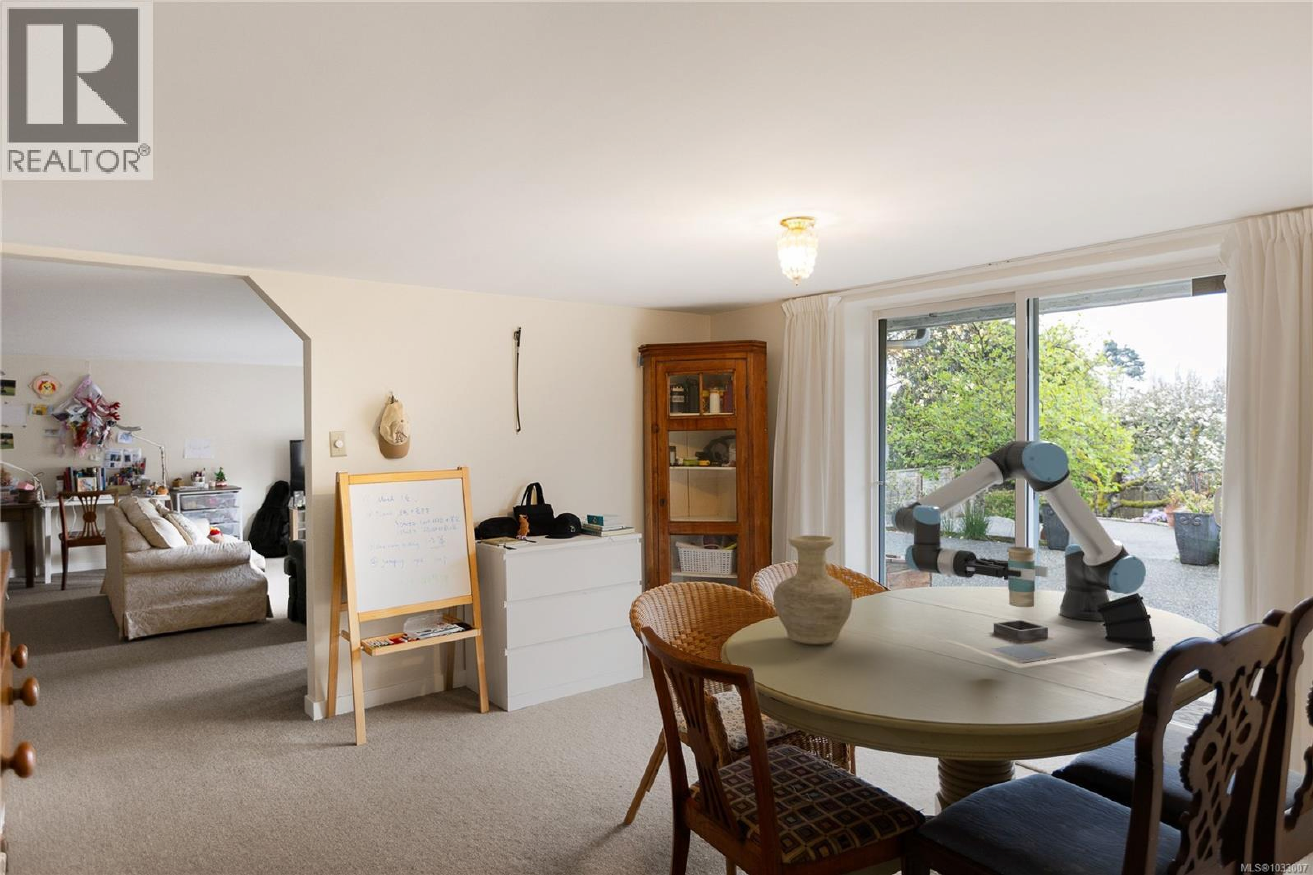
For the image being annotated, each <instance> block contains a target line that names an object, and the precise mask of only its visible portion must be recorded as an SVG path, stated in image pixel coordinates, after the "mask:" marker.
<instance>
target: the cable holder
mask: <svg viewBox="0 0 1313 875" xmlns="http://www.w3.org/2000/svg"><path fill="white" fill-rule="evenodd" d="M988 634H990V635H993V636H996V637H998V638H1002V639H1004V640H1005V639H1006V640H1009V641H1012V642H1014V643H1018V644H1026V643H1032V642H1040V641H1041V642H1042V641H1048V640H1053V639H1054V638H1053V637H1051V636H1049V627H1047V626H1045V625H1040V624H1038V623H1037V624H1036V623H1034V622H1030V621H1027V620H1022V619H1015V620H1007V621H1001V622H999V621H998V622H993V632H988Z"/></svg>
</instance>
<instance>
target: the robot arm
mask: <svg viewBox="0 0 1313 875" xmlns="http://www.w3.org/2000/svg"><path fill="white" fill-rule="evenodd" d="M1069 463H1070V460H1069V457H1068V453H1067V452H1066V450H1065V449H1064V448H1063V447H1062V446H1061V445H1059V444H1057V443H1055V442H1052V441H1047V440H1041V439H1040V440H1015V441H1012V442H1008V443H1007V444H1005V445H1003V446H1001V447H999V448H997V449H996V450H994V451H992V452H991V453H989V454H987V455H985V456H984V457H983V458H981V460H980V463H979V464H977V465H975V466H974V467H972V468H970V469H969V470H967V471H965V472H964V473H962V474H960V475H959V476H957V477H955V478H954V479H952V480H950V481H949V482H947V483H946V484H944V485H941V486H940V487H939V488H937V489H935V490H934V491H933V490H932V492H930V493H928V494H926V495H925V496H923V497H921V498H920V499H918V500H916V501H915V502H912V503H911V504H910V505H908V506H902V507H901V506H900V507H898V508H895V509H894V510H893V511H892V513H891V517H890V521H891V525H892V526H893V527H894V529H896V530H898V531H900V532H901V533H905V534H909V535H913V544H910V545H909V546H907V548H906V550H905V554H904V562H905V564H906V566H907V567H908V568H909V569H911V570H914V571H919V572H922V573H930V574H931V573H932V574H938V575H947V578H951V576H954V577H960V578H965V579H971V578H973V577H974V576H975V575H979V576H980V575H981V576H987V577H992V578H999V579H1002V578H1003V579H1004V581H1008V576H1009V577H1010V578H1017V579H1024V580H1032V581H1036V577H1042V578H1048V576H1049V575H1048V571H1049V570H1048V566H1044V565H1037V564H1035V570H1031V569H1023V568H1015V567H1009V570H1008V560H1002V559H995V558H994V559H993V558H989V559H988V558H984V557H980V558H977V556H976V554H975V553H974V552H973V551H971V550H963V549H962V550H961V549H957V548H956V549H955V548H948V547H947V548H946V547H944V548H943V547H941V544H942V542H941V537H942V536H941V533H942V532H941V527H942V526H941V524H942V519H941V516H943V515H944V514H946V513H948V512H950V511H951V510H953V509H955V508H956V507H958V506H959V505H961V504H963V503H965V502H966V501H968V500H969V499H971V498H973V497H975V496H976V495H979V494H981V492H983V491H986V489H988V488H990V487H992V486H994V485H1002V484H1003V483H1005V482H1007V481H1010V480H1014V479H1023V480H1025V481H1026V483H1027V484H1028V485H1029V487H1030V488H1031V489H1032V491H1033V492H1035V493H1037V494H1042V496H1043V497H1044V498H1045V500H1046V502H1048V504H1049V505H1050V507H1051V508H1052V510H1053V512H1054V513H1055V514H1056V515H1057V517H1058V518H1059V520H1060V521H1061V522H1062V524H1063V525H1064V527H1065V528H1066V529H1067V531H1068V532H1069V534H1070V535H1071V536H1072V538H1073V539H1074V540H1075V542H1076V543H1073V544H1067V546H1065V550H1064V551H1065V552H1064V563H1065V564H1064V565H1065V566H1064V567H1065V568H1064V569H1065V573H1064V574H1065V592H1064V594H1063V598H1062V599H1061V600H1062V601H1061V604H1060V606H1059V614H1060V615H1062V616H1063V617H1066V618H1070V619H1074V620H1081V621H1092V622H1093V621H1094V622H1097V621H1098V622H1102V621H1103V622H1104V620H1103V617H1102V615H1101V613H1098V612H1097V610H1098V607H1097V605H1099V604H1102V603H1106V602H1109V601H1111V600H1110V597H1109V594H1108V591H1110V592H1113V593H1116V594H1123V595H1127V594H1128V595H1131V594H1132V593H1133V594H1134V593H1135V592H1136V591H1138V590H1139V589H1140V588H1141V587H1142V586H1143V585H1144V584H1145V583H1144V582H1145V581H1146V580H1145V578H1146V576H1147V569H1146V566H1145V563H1144V562H1143V560H1141V559H1140V558H1139V557H1137V556H1135V555H1131V554H1129V553H1128V551H1127V550H1126V548H1125V547H1124V545H1123V544H1122V542H1121V541H1119V540H1114V539H1112V538H1111V537H1110V536H1111V535H1109V534H1108V532H1107V531H1106V529H1105V528H1104V526H1103V525H1102V524H1101V522H1100V521H1099V519H1098V518H1097V517H1096V516H1095V514H1094V512H1093V511H1092V509H1091V508H1090V507H1089V505H1088V503H1087V502H1086V501H1085V499H1084V498H1083V497H1082V495H1081V494H1080V492H1079V491H1078V489H1077V488H1076V486H1075V485H1074V484H1073V483H1072V480H1071V479H1070V476H1071V470H1070V468H1069V466H1070V465H1069Z"/></svg>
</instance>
